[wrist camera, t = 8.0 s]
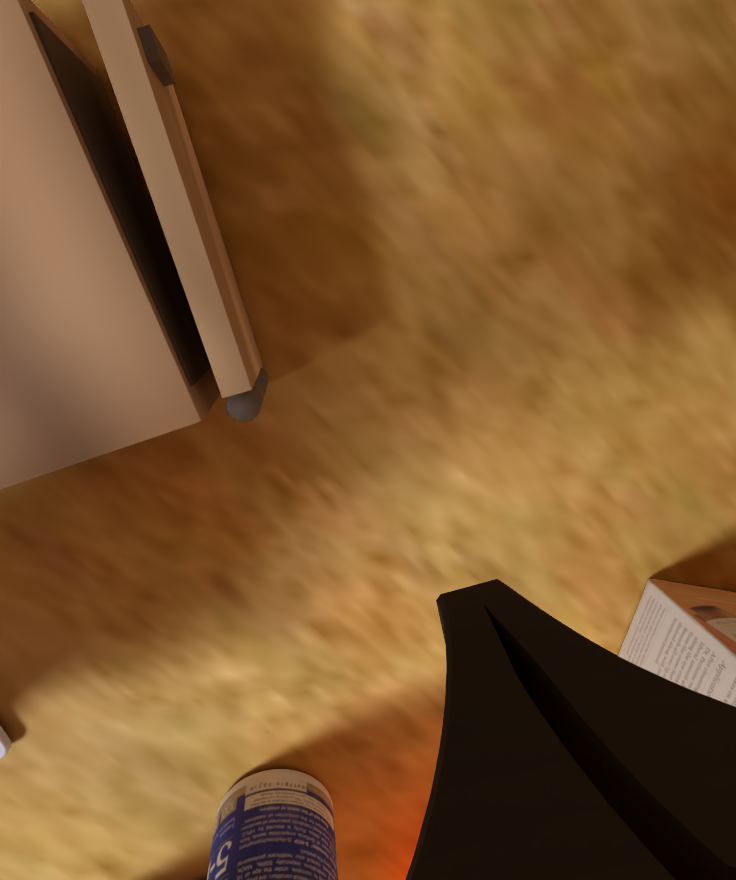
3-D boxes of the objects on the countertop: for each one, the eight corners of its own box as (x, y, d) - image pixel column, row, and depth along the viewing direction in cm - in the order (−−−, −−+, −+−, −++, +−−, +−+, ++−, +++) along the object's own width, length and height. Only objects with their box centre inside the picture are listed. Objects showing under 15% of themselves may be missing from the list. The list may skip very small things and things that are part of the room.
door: (246, 394, 19) (231, 428, 14) (136, 67, 16) (73, -16, 11) (278, 385, 19) (272, 416, 14) (175, 58, 16) (128, -28, 11)
